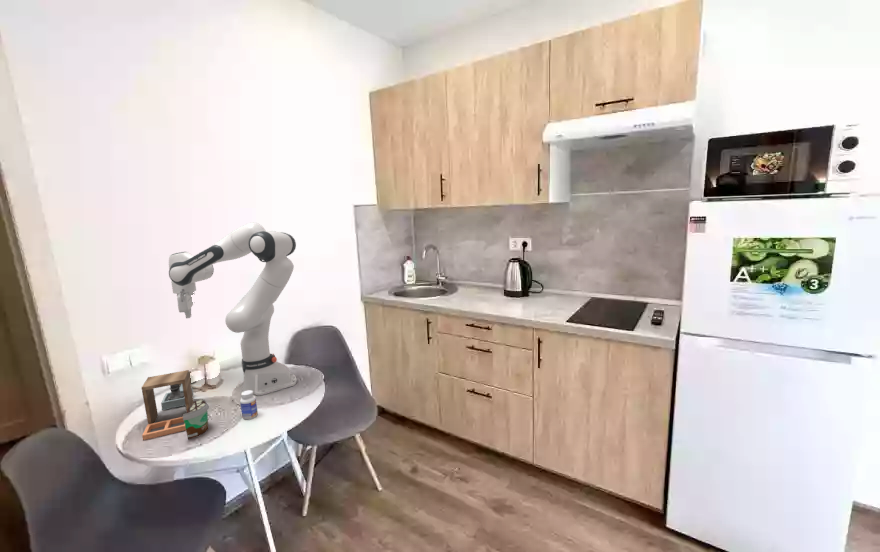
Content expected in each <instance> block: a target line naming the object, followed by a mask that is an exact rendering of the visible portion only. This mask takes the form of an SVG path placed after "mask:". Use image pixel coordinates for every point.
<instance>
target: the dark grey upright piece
mask: <svg viewBox="0 0 880 552" xmlns="http://www.w3.org/2000/svg"><path fill="white" fill-rule="evenodd" d="M169 386H170V388H169V390H170V392H171V396H169V397H168V400H169V401H170V400H175V399H180V398H184V393H181V392H180V386H181V385H179V384H174V385H169Z"/></svg>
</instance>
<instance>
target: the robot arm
mask: <svg viewBox="0 0 880 552" xmlns="http://www.w3.org/2000/svg"><path fill="white" fill-rule="evenodd" d="M296 247H297V242H296V240H295V238H294V236H292V235H291V234H290V233H287V232H283V231H275V230H274V231H273V230H267V231H266V229H265V228H264V227H263V225H262V224H260V223H258V222H249V223H246V224H245V225H242V226H240V227H238V228H236V229H235V230H232V232H230V233H228V234H227V235H225V237H222V238H221V239H220V240H219V241H217V242H216V243H214V244H212V245H210V246H209V247H208V248H206V249H204V250H202V251H201V252H199V253H197V254H195V255H193V254H191V253H190V252H189V251H181V252H176V253H173V254H170V255H169V258H168V269H169V270H168V277H169V279H170V280H171V289H172V294H176V297H177V298H176V299H177V307H178V312H179V313H184V315H185V319H191V317H192V307H193V306H194V304H193V302H192V297H191V295H193V294H194V295H195V291H196V292H197V286H196V283H197V282H201V281H205V280H208V279H210V278H211V277H213V275H214V272H215V271H214V270H215V269H214V265H215V264H217V263H222V262H226V261H233V260H236V259H240V258H243V257H245V256H248V255H249V254H251V253H252V255H254V256H255V257H256V258H257V259H258V260H259V261H260V262H262V263H265V266H264V267H263V269H262V271H261V272H260V274H259V275H258V277H257V278H256V280H255V282H254V283H253V285H252V286H251V288H250V289H249V291H247V293H245V295H244V296H243V297H242V298H241V299H240V300H239V302H238V303H237V304H236V305H235V306H234V308H232V309H231V310H230V311H229V312H228V313H227V314H226V316H225V322H224V323H225V325H226V327H227V328H228V330H230V332H232V333H236V334H237V333H238V334H239V333H240V334H241V333H243V336H242V338H241V340H240V349H241V358H242V359H241V369H242V372H243V385H242V389H241V391H242V392H244V391H247V390H252V391H253V395H254V396H263V395H266V394H269V393H273V392H277V391H280V390H284V389H287V388H291V387H293V386H295V385H296V384H297V377H296V375H295V374H294V373H292V372H291V370H290V369H289V367H288V366H287V365H286V364H285V363H281V362H278V359H277V357H276V354H275V353H270V344H269V342H270V341H269V337H270V336H269V334H270V333H269V332H270V326H271V320H272V317H273V315H274V312H275V306H274V303H275V302H276V301H277V300H278V298H279V296H280V295H281V294H282V292H283V290H284V289H285V287H286V286H287V284H288V282H289V281H290V279H291V277H292V273H293V271H294V269H295V268H294V267H295V266H294V263H293V261H292V260H291V259H289V257H288V256H291V255H292V254H293V253H294V252H295V250H296V249H297V248H296ZM193 292H194V293H193Z"/></svg>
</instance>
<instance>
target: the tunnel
mask: <svg viewBox="0 0 880 552" xmlns="http://www.w3.org/2000/svg"><path fill="white" fill-rule="evenodd" d="M189 372H190V371H189V369H187V370H181V371H175V372H171V373H170V372H169V373H164V374H159V375H153V376H148V377H147V378H146V380H145V382H144V383H143V384H142V386H141V391H142V397H143V403H144V408H145V410H144V411H145V413H146V414H145V415H146V420H147V425H148V424H152V423H156V421H157V418H158V417H159V414H158V408H157V402H156V397H155V396H156V395H155V391H154V389H157V388H158V389H159V388H163V387H164V388H165V387H169V386H170V385H174V384H180V383H182V386H183V392H184V398H185V405H184V406H185V409H186V412H187V411H188V409H189V407H190V406H191V405H192V404H193V402H194V400H193V399H194V395H192V388H193V387H192V385H191V384H192V383H191V382H190V376H189Z"/></svg>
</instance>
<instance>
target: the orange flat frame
mask: <svg viewBox="0 0 880 552" xmlns="http://www.w3.org/2000/svg"><path fill="white" fill-rule="evenodd" d="M181 432H186V428H185V423H184V420H183V416H181V417H180V416H178V417H176V418H171V419H166V420H161V421H157V422H156V421H155V423H152V424H148V423H147V425H146V426H145V429H144V431H143V433H142V435H141V437H142V441H147V440H152V439H153V440H154V439H156V438H161V437H165V436H168V435H173V434H178V433H181Z"/></svg>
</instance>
